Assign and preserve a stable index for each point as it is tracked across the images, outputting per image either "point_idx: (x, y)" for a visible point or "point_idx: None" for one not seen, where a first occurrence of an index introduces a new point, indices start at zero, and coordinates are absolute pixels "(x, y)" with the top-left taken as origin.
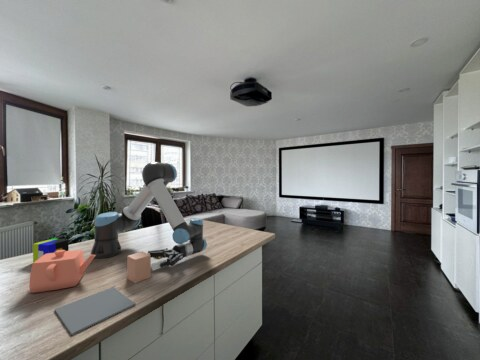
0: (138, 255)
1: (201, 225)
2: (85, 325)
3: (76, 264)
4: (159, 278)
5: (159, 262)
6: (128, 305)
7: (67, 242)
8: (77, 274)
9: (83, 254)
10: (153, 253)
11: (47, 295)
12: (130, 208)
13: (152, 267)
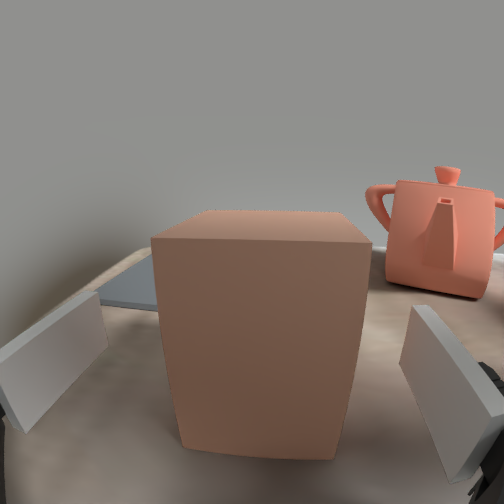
0: (270, 220)
1: None
2: (149, 258)
3: (399, 205)
4: (89, 449)
5: (43, 323)
6: (100, 290)
7: None
8: (395, 245)
9: (490, 211)
10: (495, 487)
11: (375, 264)
12: None
13: (97, 320)
